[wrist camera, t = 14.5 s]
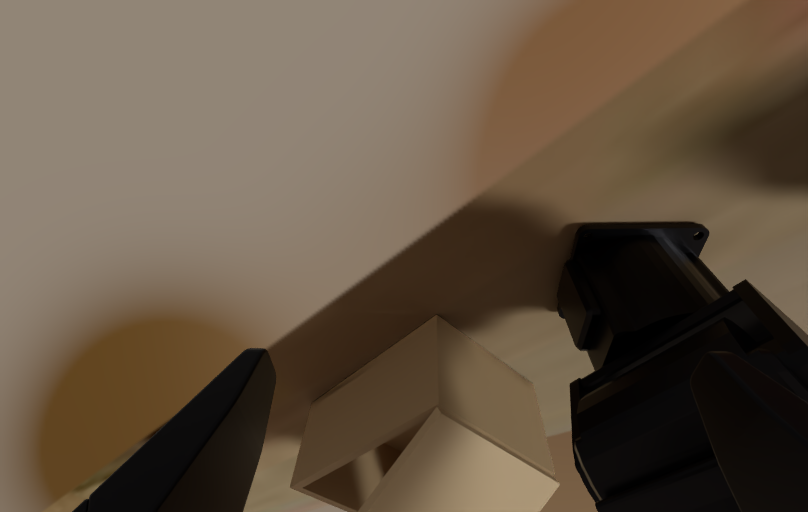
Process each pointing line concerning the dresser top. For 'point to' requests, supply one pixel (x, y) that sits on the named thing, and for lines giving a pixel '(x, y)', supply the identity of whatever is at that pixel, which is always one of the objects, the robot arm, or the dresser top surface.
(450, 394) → the carton
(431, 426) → the carton lid
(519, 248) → the dresser top surface
